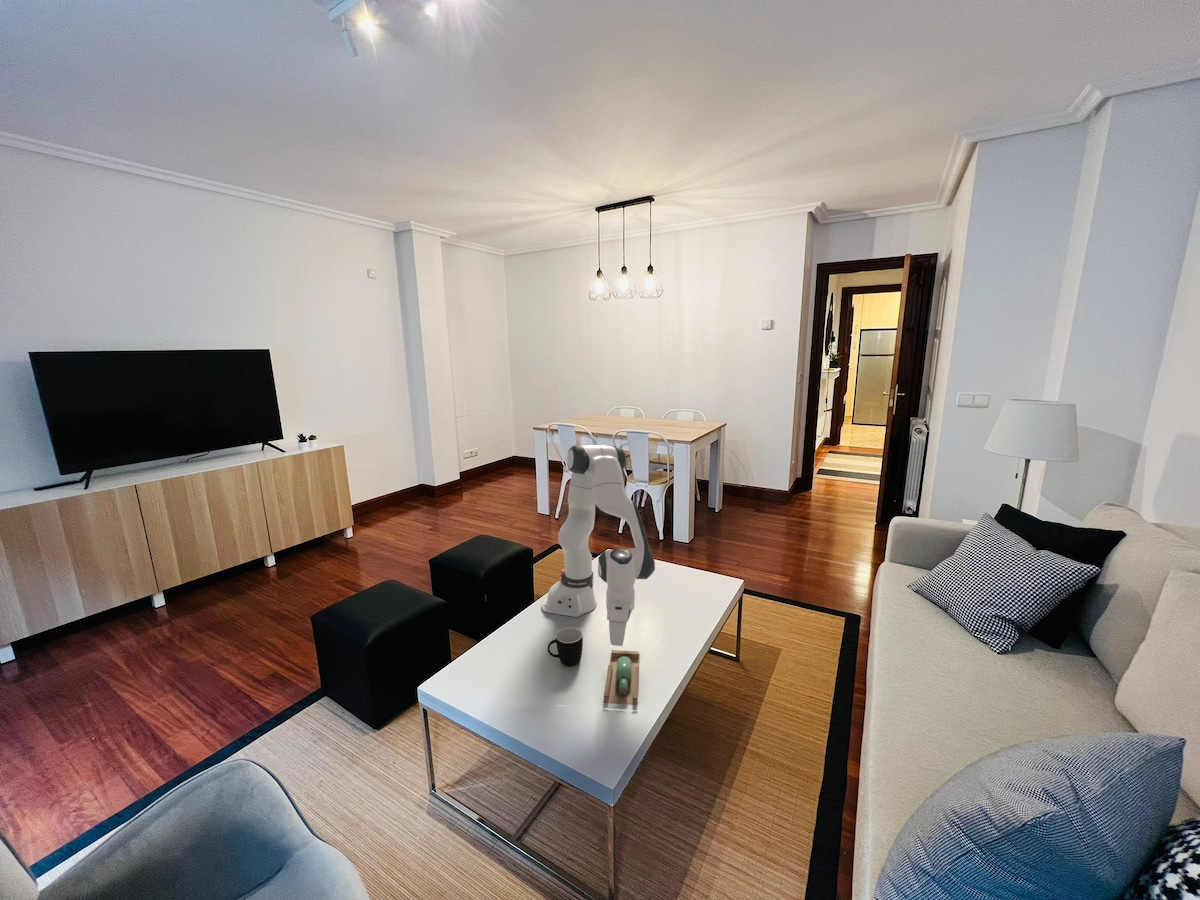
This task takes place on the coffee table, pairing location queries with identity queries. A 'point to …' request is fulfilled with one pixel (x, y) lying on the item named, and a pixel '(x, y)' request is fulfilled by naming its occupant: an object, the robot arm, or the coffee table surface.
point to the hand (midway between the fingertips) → (619, 640)
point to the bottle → (623, 674)
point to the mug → (568, 646)
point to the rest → (611, 684)
